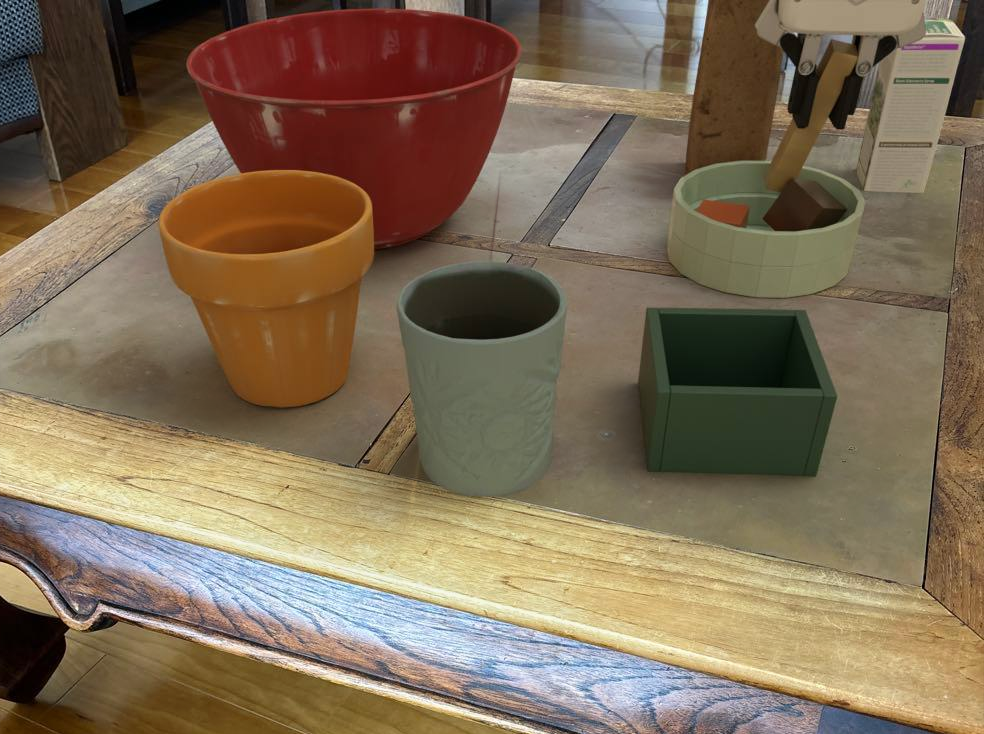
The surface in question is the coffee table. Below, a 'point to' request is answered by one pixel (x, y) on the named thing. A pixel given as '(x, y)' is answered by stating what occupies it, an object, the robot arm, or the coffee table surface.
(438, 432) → the grey green cup
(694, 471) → the box
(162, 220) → the flower pot
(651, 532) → the coffee table surface
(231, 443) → the coffee table surface
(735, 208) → the terracotta block
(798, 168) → the stirring stick
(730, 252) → the bowl
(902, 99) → the syrup box
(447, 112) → the mixing bowl
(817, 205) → the walnut block
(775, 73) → the block
